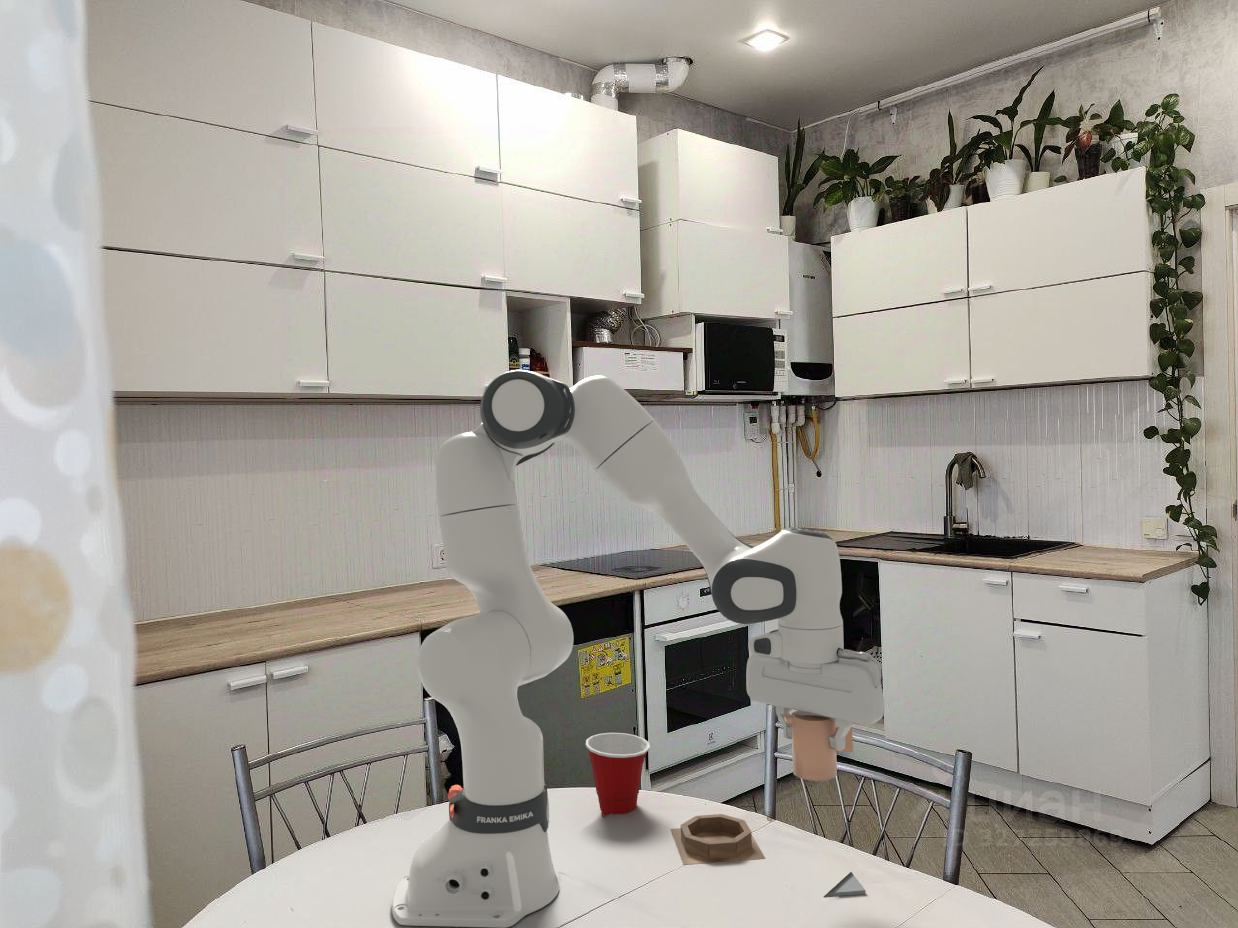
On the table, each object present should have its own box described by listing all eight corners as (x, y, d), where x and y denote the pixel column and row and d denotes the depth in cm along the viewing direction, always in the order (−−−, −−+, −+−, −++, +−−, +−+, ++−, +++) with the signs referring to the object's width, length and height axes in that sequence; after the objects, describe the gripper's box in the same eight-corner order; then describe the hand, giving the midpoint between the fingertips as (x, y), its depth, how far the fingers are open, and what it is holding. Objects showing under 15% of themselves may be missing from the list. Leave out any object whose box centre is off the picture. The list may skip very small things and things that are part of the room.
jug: (790, 781, 119) (788, 722, 119) (783, 765, 125) (781, 709, 125) (857, 779, 119) (856, 720, 119) (847, 764, 125) (845, 707, 125)
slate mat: (792, 899, 117) (792, 895, 117) (772, 864, 127) (772, 861, 127) (865, 893, 118) (865, 889, 118) (839, 859, 128) (839, 855, 128)
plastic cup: (646, 828, 140) (643, 753, 140) (580, 824, 142) (578, 750, 142) (656, 801, 151) (654, 731, 151) (595, 797, 153) (593, 729, 153)
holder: (683, 871, 125) (683, 849, 125) (670, 835, 137) (669, 814, 137) (765, 864, 127) (765, 843, 126) (745, 829, 138) (744, 809, 138)
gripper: (891, 650, 117) (894, 753, 117) (764, 631, 131) (766, 723, 131) (868, 659, 112) (871, 766, 112) (738, 639, 126) (741, 734, 127)
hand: (813, 743), depth 122 cm, fingers closed on jug, 6 cm apart
